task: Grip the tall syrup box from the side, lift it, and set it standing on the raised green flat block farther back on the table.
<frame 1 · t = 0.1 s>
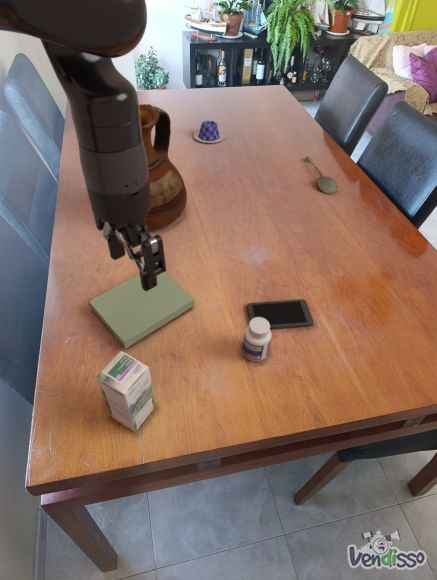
hand: (133, 271, 56), 25 cm above the table, tool pointing down, fingers open, 8 cm apart
cell phone: (279, 315, 84), on the table
pill bottle: (254, 351, 77), on the table
soupspoon: (318, 176, 126), on the table
ceramic pitcher: (152, 214, 108), on the table
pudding: (209, 137, 142), on the table
green flat block: (143, 308, 83), on the table
syrup box: (134, 412, 67), on the table
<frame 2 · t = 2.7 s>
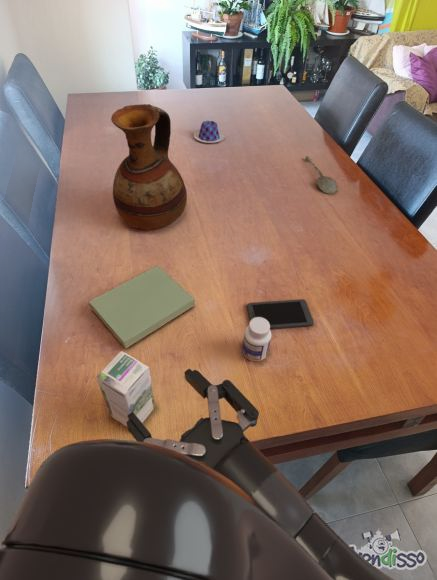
hand: (159, 394, 46), 22 cm above the table, tool horizontal, fingers open, 8 cm apart
nothing on the table moved.
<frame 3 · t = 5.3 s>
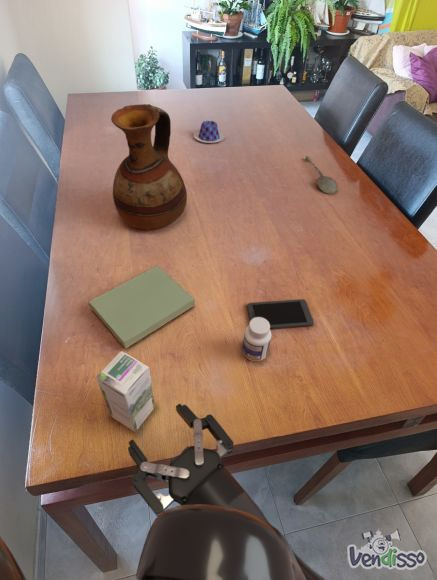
hand: (155, 424, 57), 9 cm above the table, tool horizontal, fingers open, 8 cm apart
nothing on the table moved.
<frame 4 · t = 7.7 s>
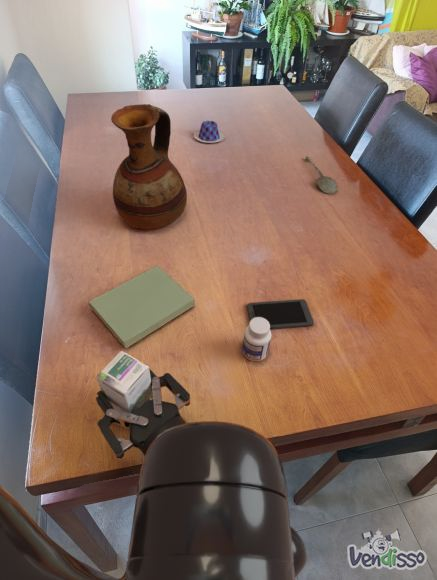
hand: (119, 380, 62), 9 cm above the table, tool horizontal, fingers closed on syrup box, 7 cm apart
syrup box: (133, 412, 67), on the table, touching gripper
everything else where it was.
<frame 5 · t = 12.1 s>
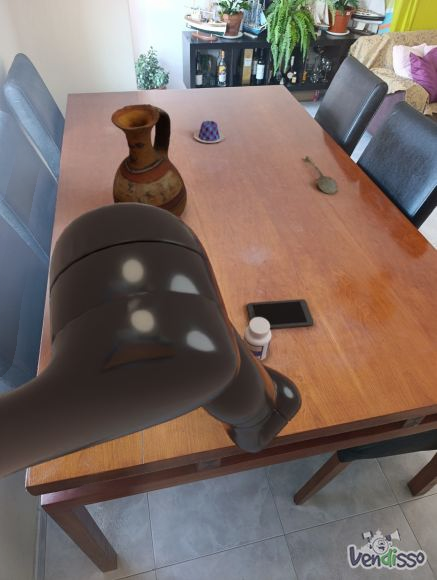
hand: (122, 270, 64), 20 cm above the table, tool horizontal, fingers closed on syrup box, 7 cm apart
syrup box: (135, 310, 69), point 11 cm above the table, touching gripper
everything else where it was.
when the fingers open (12 cm above the table, at t = 16.3 s): syrup box stays where it is, resting on green flat block.
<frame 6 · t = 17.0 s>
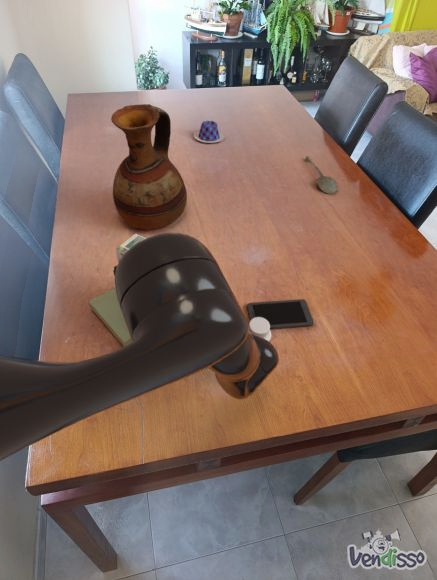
hand: (134, 260, 76), 12 cm above the table, tool horizontal, fingers open, 8 cm apart
syrup box: (144, 296, 82), point 3 cm above the table, touching green flat block
everything else where it was.
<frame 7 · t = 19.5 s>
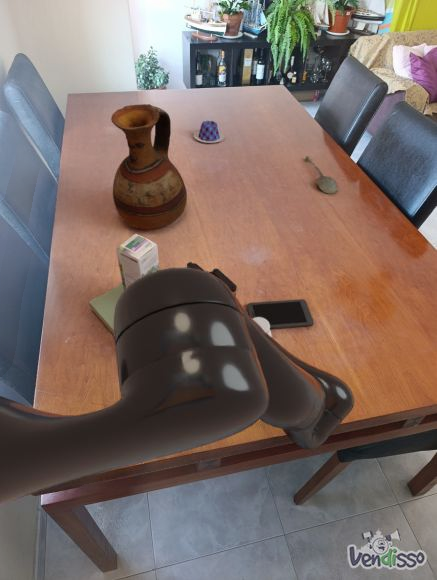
hand: (169, 276, 66), 17 cm above the table, tool horizontal, fingers open, 8 cm apart
nothing on the table moved.
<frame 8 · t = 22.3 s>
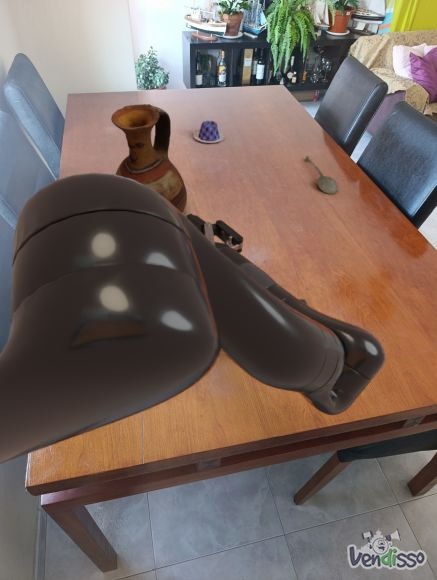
hand: (166, 229, 58), 28 cm above the table, tool horizontal, fingers open, 8 cm apart
nothing on the table moved.
at the end: syrup box inside the target area on the green flat block (0.6 cm from its centre), point 2.8 cm above the green flat block's base; syrup box tilted 0°; the gripper is holding nothing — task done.
